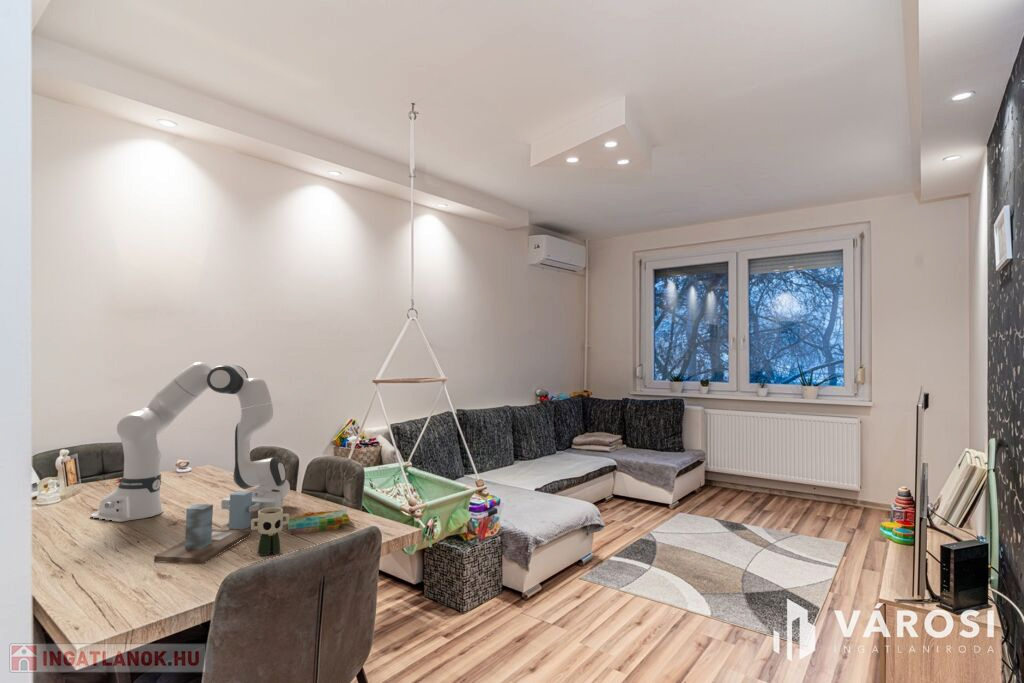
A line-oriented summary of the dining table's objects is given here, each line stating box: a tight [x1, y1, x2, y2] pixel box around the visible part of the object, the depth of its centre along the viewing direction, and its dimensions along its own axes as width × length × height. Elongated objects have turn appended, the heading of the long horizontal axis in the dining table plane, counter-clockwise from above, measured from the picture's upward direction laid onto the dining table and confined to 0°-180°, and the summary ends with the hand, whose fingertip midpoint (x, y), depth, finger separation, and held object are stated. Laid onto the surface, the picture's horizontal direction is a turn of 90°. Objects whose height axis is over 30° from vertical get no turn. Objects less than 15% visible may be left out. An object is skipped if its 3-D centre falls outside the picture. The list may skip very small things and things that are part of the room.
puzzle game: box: [287, 509, 351, 535], centre depth 182 cm, size 12×5×20 cm
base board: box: [153, 503, 252, 564], centre depth 161 cm, size 15×24×14 cm, turn 177°
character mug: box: [250, 507, 290, 556], centre depth 158 cm, size 11×7×13 cm, turn 128°
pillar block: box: [228, 490, 252, 530], centre depth 180 cm, size 5×5×12 cm
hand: (239, 509), depth 179 cm, fingers closed on pillar block, 5 cm apart
